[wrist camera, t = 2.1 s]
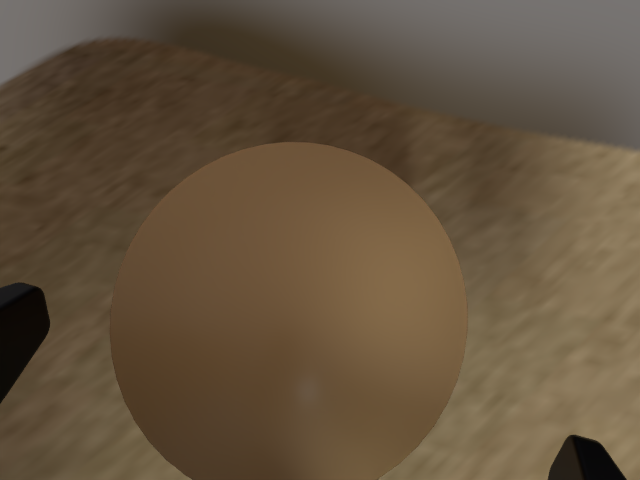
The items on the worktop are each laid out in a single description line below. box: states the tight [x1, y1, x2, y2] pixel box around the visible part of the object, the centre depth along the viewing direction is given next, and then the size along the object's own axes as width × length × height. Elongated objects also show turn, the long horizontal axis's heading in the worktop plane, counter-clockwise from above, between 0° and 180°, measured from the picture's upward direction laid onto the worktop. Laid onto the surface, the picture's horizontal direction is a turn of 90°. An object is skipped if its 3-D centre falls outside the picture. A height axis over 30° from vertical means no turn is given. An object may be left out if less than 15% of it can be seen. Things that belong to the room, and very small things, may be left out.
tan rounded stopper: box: [110, 142, 468, 480], centre depth 13 cm, size 6×6×10 cm
